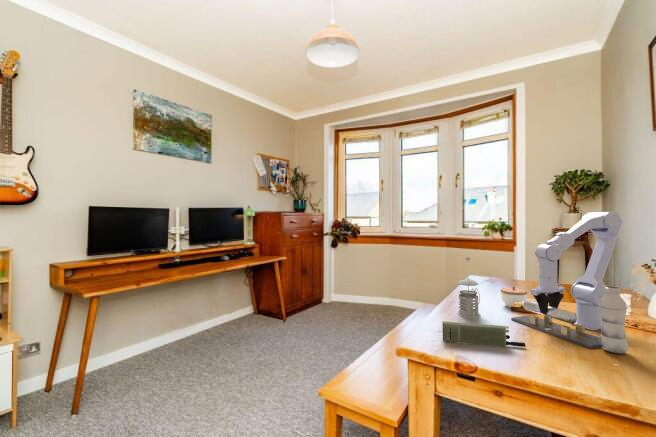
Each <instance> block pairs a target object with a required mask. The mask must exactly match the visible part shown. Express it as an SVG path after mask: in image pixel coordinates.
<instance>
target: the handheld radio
mask: <svg viewBox="0 0 656 437" xmlns="http://www.w3.org/2000/svg"><path fill="white" fill-rule="evenodd" d="M509 329H510V327H509V326H507V325H496V324H495V325H494V324H484V323H471V322H470V323H468V322H459V321H457V322H455V321H442V341H443V342H444V341H451V342H450V343H454V342H459V343H458V344H465V343H466V344H467V345H477V346H488V347H489V346H490V347H497V348H507V346H511V347H520V348H526V346H527V344H526V342H519V341H518V342H517V341H507V340H509V339H510V338H511V337H510V335H509V334H507V333H510V330H509Z"/></svg>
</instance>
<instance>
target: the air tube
mask: <svg viewBox="0 0 656 437" xmlns="http://www.w3.org/2000/svg"><path fill="white" fill-rule="evenodd" d="M523 309H524V310H526V311H529V312H532V313H534V314H537V315H538V314H539V315H542V316H543V317H544V316H547V317H551V318H552V319H554V320H557V321H561V322H564V323H568V324H570V325H573V324H575V323H576V321H577V315H576V313H575V312H572V311H569V310H566V309H562V308H559V307H558V308H555V307H552V306H549V305H548V312H547V314H543V313H541V312H540V308H539V305H538V303H537V301H534V300H533V301H532V300H529V299H527V300H526V301H525V302H524V305H523Z"/></svg>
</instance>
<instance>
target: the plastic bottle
mask: <svg viewBox="0 0 656 437" xmlns="http://www.w3.org/2000/svg"><path fill="white" fill-rule="evenodd" d="M621 291H622V289H621V287H618V286H613V285H606V286H605V291H604V292H605V295H604V296H603V297H602V298H601V299H600V300H599V308H600V313H601V320H602V321H601V322H602V326H601V329H600V335H599V338H600V339H599V342H600V346H601V347H600V348H602V350H605V351H607V352H610V353H613V354H626V353H627V352H628V350H629V349H628V348H629V342H628V338H627V334H626V333H627V332H626V317H627V316H626V315H627V310H628V305H627V304H626V303H627V302H626V301H625V300H624V299H623V298H622V296H621V294H622V292H621Z"/></svg>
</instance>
